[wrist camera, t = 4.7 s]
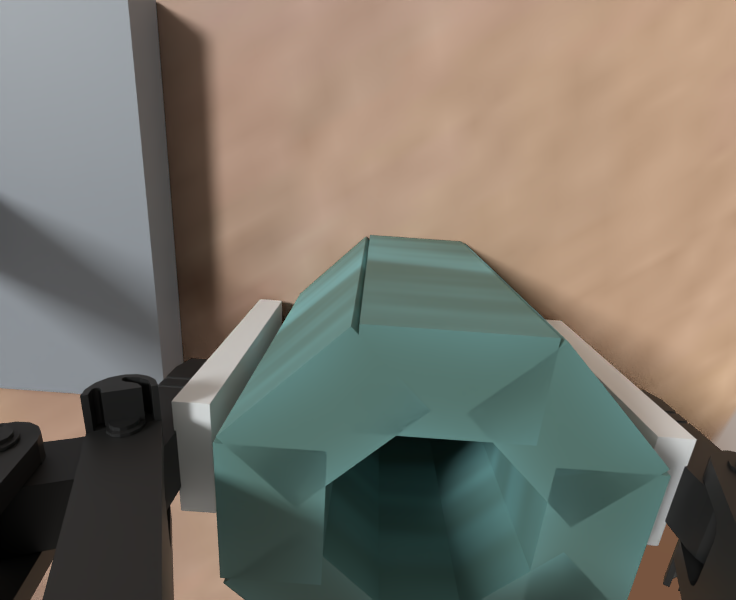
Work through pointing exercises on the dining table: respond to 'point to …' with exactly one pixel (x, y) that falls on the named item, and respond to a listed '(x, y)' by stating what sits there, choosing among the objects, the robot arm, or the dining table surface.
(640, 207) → the dining table surface
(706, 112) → the dining table surface
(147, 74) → the spindle plate
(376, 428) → the bead
